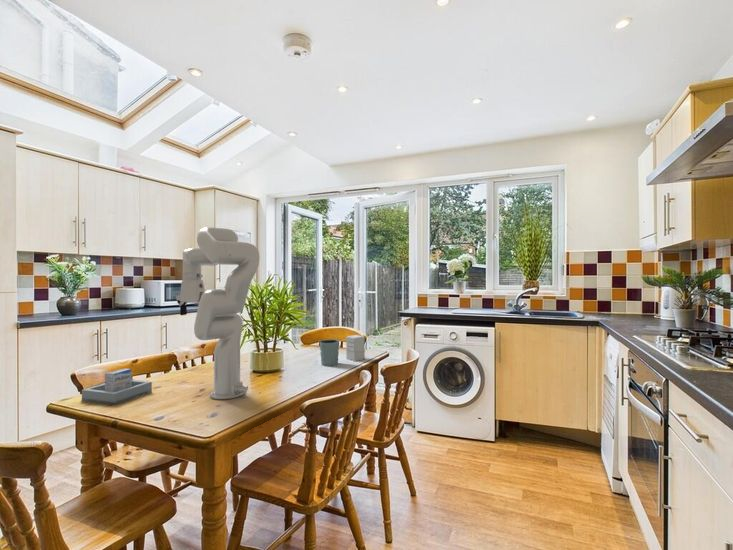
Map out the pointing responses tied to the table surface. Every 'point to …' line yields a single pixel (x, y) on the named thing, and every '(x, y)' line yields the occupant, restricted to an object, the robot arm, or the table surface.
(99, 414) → the table surface
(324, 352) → the grey-green bucket
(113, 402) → the tray
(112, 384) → the medicine box
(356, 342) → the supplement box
